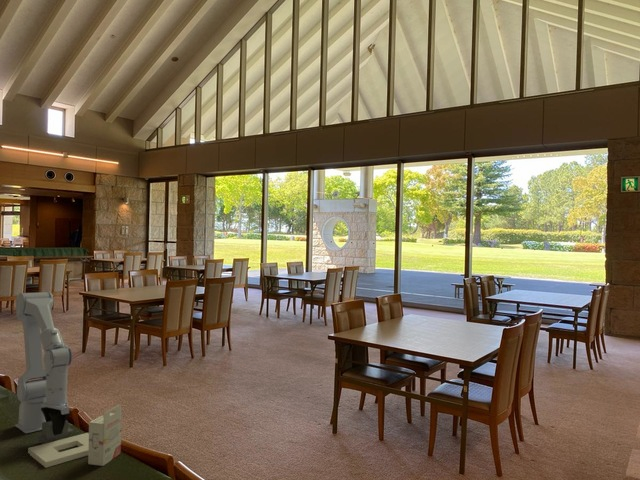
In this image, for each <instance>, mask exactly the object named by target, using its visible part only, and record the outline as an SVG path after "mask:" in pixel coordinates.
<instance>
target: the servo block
mask: <svg viewBox="0 0 640 480" xmlns="http://www.w3.org/2000/svg"><path fill="white" fill-rule="evenodd" d="M74 433H75V430H74V429H72V428H71V427H69V421H68V420H67V419H66V422H65V425H64V428H63V431H62V434H58V435H54V433H53V425H52V421H48V422H43V423H42V430H41V434H38V435H34V439H35V440H36V441H37V442H39V443H41V445H42V444H46V443H50V442H54V441H57V440H61V439H65V438H69V437H68V435H72V434H74Z"/></svg>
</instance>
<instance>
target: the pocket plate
mask: <svg viewBox="0 0 640 480" xmlns="http://www.w3.org/2000/svg"><path fill="white" fill-rule="evenodd" d="M76 446H77V447H76ZM73 447H74V448H73ZM70 448H71V449H70ZM66 449H67V450H66ZM62 450H63V451H62ZM88 450H89V432H85V433H81V434H77V435H73V436H69V437H68V438H65V439H61V440H57V441H54V442H50V443H46V444H42V443H41V444H39V445H35V446H31V447H28V448H27V454H28V453H29V454H30V455H29V454H28V455H29V456H31V457H32V458H33V459H34V460H35V461H37V463H39V464H40V465H42V466H43V467H44V468H47V469H48V468H49V467H53V466H56V465H59V464H64V463H67V462H69V461H73V460H77V459H80V458H83V457H84V458H85V457H88Z"/></svg>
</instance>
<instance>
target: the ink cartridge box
mask: <svg viewBox="0 0 640 480" xmlns="http://www.w3.org/2000/svg"><path fill="white" fill-rule="evenodd" d="M122 412H123V411H122V404H121V403H120V404H118V405H115V406H114V407H111V408H110V409H108V410H106V411H104V412H103V415H101V416H99V417H96V418H95V419H93V420H90V421H89V422H88V433H89V450H88V456H87V457H88V459H87V463H88V465H93V466H99V467H103V466H105V465H106V464H108V463H109V462H111V461H112V460H115V458H117V457H118V456H120V454H121V452H122V424H123V423H122V422H123V420H122V419H123V414H122Z"/></svg>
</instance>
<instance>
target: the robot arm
mask: <svg viewBox="0 0 640 480" xmlns="http://www.w3.org/2000/svg"><path fill="white" fill-rule="evenodd" d="M54 301H55V300H54V295H53V293H52V292H51V291H44V292H43V291H41V292H19V293H18V295H17V296H16V300H15V312H16V313H15V314H16V318H17V320H19V321H21V322H22V328H23V339H24V340H23V341H24V343H23V344H24V353H25V366H26V371H25V372H24V373H22V375H20V376H19V377H18V379H17V387H16V397H17V399H18V401H20V404H19V408H18V409H19V410H18V411H19V412H18V423H16V424H15V427H16V428H18V429H19V430H20V431H22V432H23V433H24V434H30V433H33V432H38V431H42V423H43V422H48V421H52V425H53V433H54V435H58V434H62V431H63V428H64V425H65V422H66V420H67V419H68V417H69V416H70V414H71V410H70V406H69V405H68V403H69V402H68V399H67V397H68V396H67V395H68V373H69V372H68V370H69V366H70V365H72V364H71V363H72V359H73V353H72V349H71V347H70V346H68V344H67V343H66V344H65V342H64V340H63V339H64V338H63V336H62V334H61V332H60V329H59V328H57V327H55V325H54V324H55V323H54V321H53V316H52V309H53V306H54ZM43 351H44V355H43Z"/></svg>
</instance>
